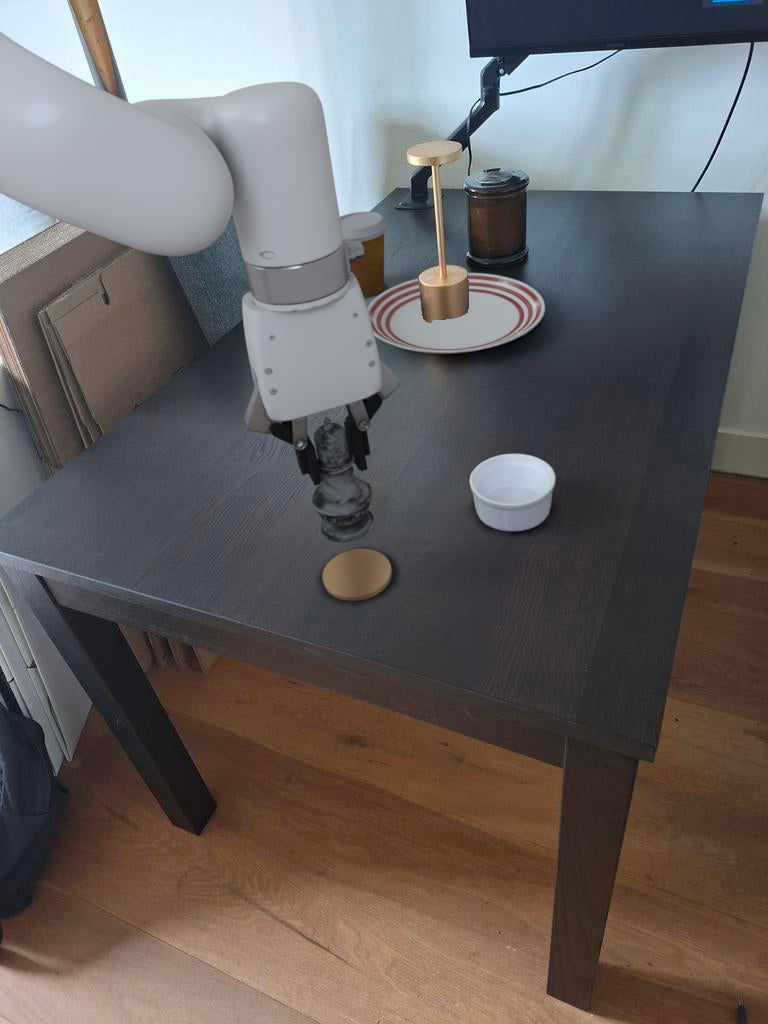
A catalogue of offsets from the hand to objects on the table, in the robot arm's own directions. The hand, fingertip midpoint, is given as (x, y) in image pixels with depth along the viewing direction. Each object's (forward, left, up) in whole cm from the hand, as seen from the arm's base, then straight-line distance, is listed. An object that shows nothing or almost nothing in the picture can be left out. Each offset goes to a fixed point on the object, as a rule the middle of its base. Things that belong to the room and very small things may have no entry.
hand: (336, 468), depth 68 cm
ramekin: (+19, +2, -14) cm, 23 cm away
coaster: (0, 0, -14) cm, 14 cm away
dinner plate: (+32, +46, -14) cm, 57 cm away
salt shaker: (0, 0, -7) cm, 7 cm away
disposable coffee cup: (+25, +68, -14) cm, 74 cm away
